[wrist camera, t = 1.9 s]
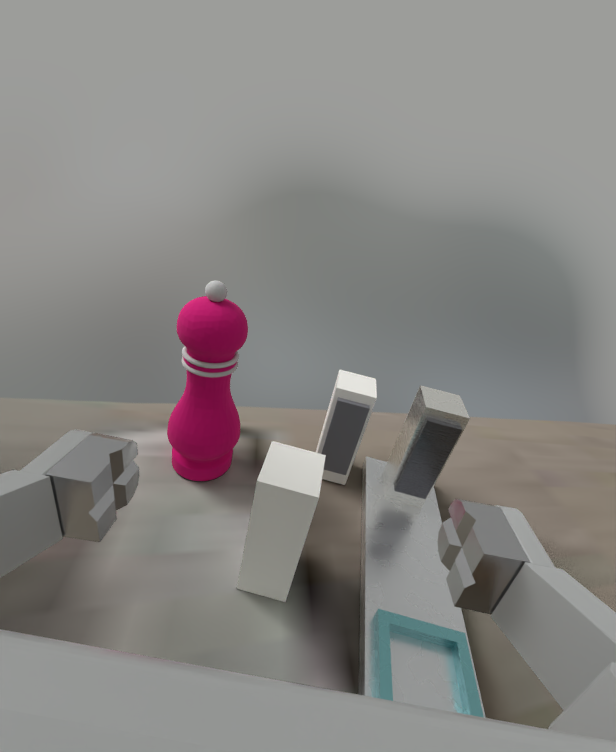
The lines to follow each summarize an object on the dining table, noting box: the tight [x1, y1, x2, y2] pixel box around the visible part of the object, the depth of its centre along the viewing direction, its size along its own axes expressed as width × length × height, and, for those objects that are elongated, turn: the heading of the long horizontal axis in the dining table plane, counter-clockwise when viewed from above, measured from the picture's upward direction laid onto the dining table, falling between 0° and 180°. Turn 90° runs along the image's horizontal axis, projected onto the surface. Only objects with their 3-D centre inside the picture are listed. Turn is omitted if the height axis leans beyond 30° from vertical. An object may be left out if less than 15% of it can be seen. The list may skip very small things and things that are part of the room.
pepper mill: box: [167, 281, 248, 481], centre depth 34 cm, size 7×7×20 cm
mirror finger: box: [316, 370, 377, 485], centre depth 38 cm, size 4×5×12 cm
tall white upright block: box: [237, 441, 326, 602], centre depth 27 cm, size 4×5×12 cm
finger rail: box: [358, 386, 486, 718], centre depth 27 cm, size 8×28×14 cm, turn 171°
